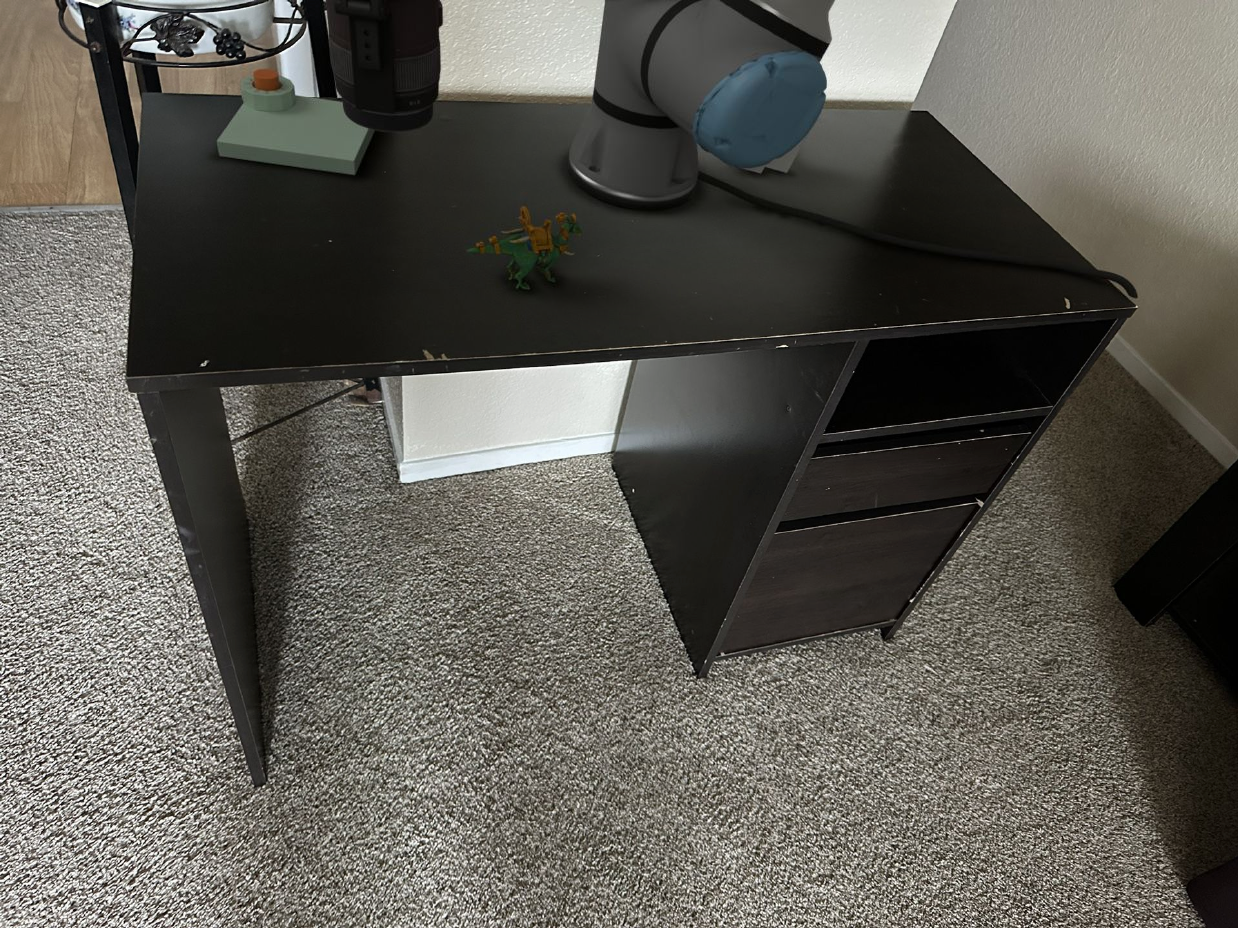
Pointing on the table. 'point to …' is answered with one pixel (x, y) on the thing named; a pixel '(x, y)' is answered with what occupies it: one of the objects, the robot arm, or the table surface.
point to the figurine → (532, 245)
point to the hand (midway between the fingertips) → (386, 83)
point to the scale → (293, 131)
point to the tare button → (266, 80)
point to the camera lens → (413, 64)
